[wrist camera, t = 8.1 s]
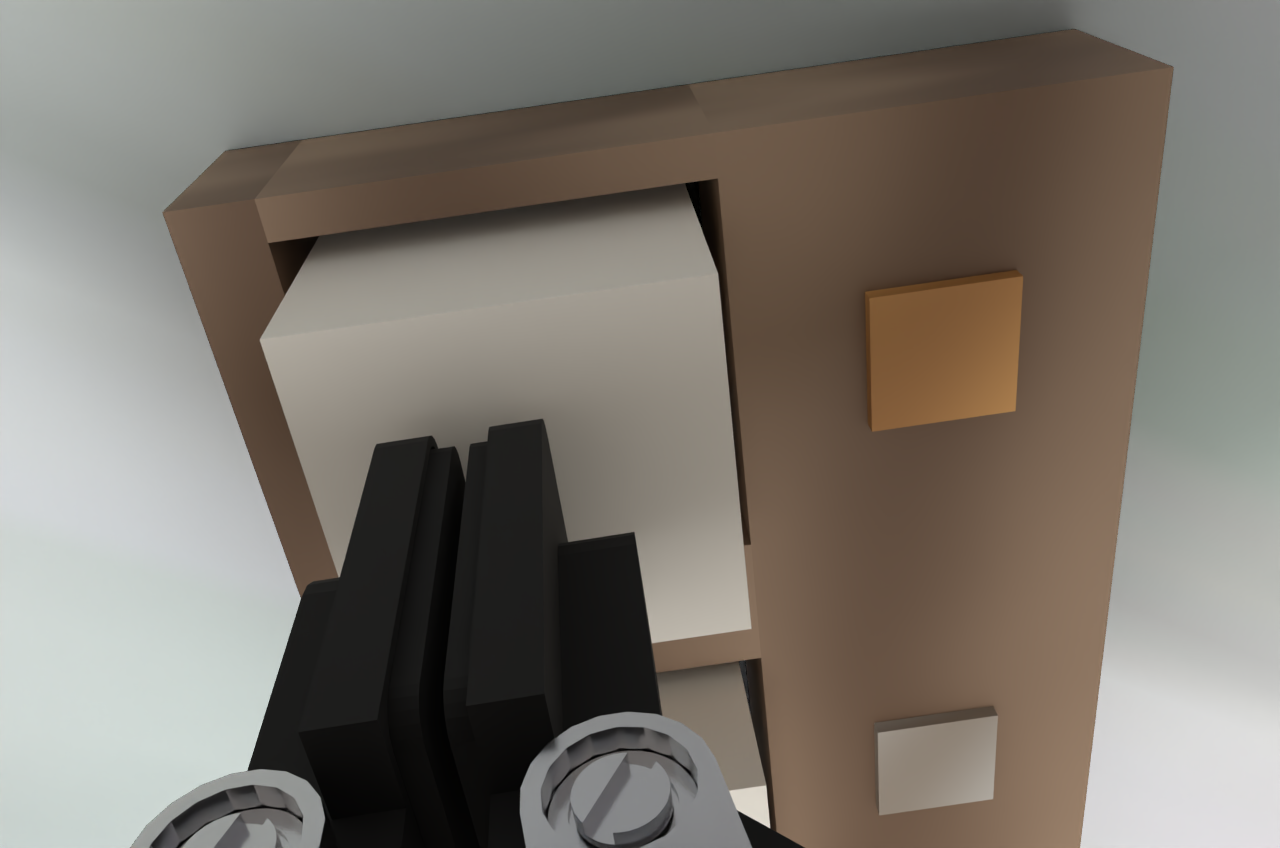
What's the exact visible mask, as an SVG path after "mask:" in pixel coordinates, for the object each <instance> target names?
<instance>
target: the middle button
mask: <svg viewBox="0 0 1280 848" xmlns="http://www.w3.org/2000/svg"><path fill="white" fill-rule="evenodd" d="M656 675H657V681H658V688H659V695H660V702H661V709H662V716H663V717H666V718H669V719H672V720H675V721H678V722H681V723H683V724H684V725H685V726H687V727H688V728H689V729H691V730H692V731H693V732H695V733H696V734H698V735H699V736H700V737H702V738H703V740H704V741H705V743H706V744H707V746H708V747H709V749H710V751H711V752H712V754H713V755H714V757H715V758H716V760H717V763H718V765H719V768H720V770H721V773H722V775H723V778H724V780H725V782H726V785H727V787H728V790H729V792H730V795H731V797H732V800H733V802H734V804H735V807H736V809H737V810H738V811H740V812H741V813H743V814H745V815H747V816H749V817H750V818H752V819H754V820H756V821H758V822H760V823H761V824H763V825H765V826H767V827H769V828H770V820H769V809H768V799H767V788H766V782H765V778H764V773H763V769H762V764H761V760H760V755H759V751H758V746H757V742H756V737H755V733H754V728H753V724H752V719H751V715H750V710H749V706H748V701H747V697H746V692H745V688H744V683H743V679H742V674H741V670H740V665H739V661H735V662H728V663H722V664H715V665H708V666H701V667H694V668H687V669H680V670H673V671H666V672H659V673H656Z"/></svg>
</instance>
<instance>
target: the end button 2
mask: <svg viewBox="0 0 1280 848" xmlns="http://www.w3.org/2000/svg"><path fill="white" fill-rule="evenodd" d="M260 343H261V346H262V349H263V352H264V355H265V358H266V361H267V364H268V367H269V370H270V373H271V376H272V379H273V382H274V385H275V388H276V391H277V394H278V397H279V400H280V403H281V406H282V409H283V412H284V415H285V418H286V421H287V424H288V427H289V430H290V433H291V436H292V439H293V442H294V445H295V448H296V451H297V454H298V457H299V460H300V463H301V466H302V469H303V472H304V475H305V478H306V481H307V484H308V487H309V490H310V493H311V496H312V499H313V502H314V505H315V508H316V511H317V514H318V517H319V520H320V523H321V526H322V529H323V532H324V535H325V538H326V541H327V544H328V547H329V550H330V553H331V556H332V559H333V562H334V565H335V568H336V571H337V574H338V577H340V574H341V571H342V567H343V563H344V559H345V556H346V552H347V548H348V545H349V541H350V537H351V533H352V530H353V526H354V522H355V519H356V515H357V511H358V507H359V504H360V500H361V496H362V492H363V489H364V485H365V481H366V478H367V474H368V470H369V466H370V463H371V459H372V455H373V452H374V448H375V446H376V444H379V443H385V442H392V441H399V440H405V439H412V438H418V437H425V436H431V435H432V436H433V438H434V439H435V441H436V443H437V446H438V449H439V448H446V447H452V446H455V448H456V449H457V451H458V454H459V458H460V461H461V465H462V469H463V474H464V478H465V482H466V474H467V465H468V456H469V447H470V444H472V443H479V442H485V441H487V440H488V430H489V427H491V426H497V425H504V424H510V423H517V422H523V421H530V420H537V419H543V420H544V423H545V427H546V431H547V435H548V440H549V445H550V451H551V456H552V461H553V466H554V471H555V476H556V482H557V487H558V492H559V497H560V502H561V507H562V513H563V518H564V523H565V528H566V533H567V539H568V542H572V541H578V540H585V539H591V538H598V537H604V536H611V535H617V534H624V533H630V532H635V538H636V544H637V550H638V557H639V563H640V569H641V576H642V582H643V589H644V595H645V602H646V608H647V615H648V621H649V628H650V634H651V641H652V643H657V642H664V641H671V640H678V639H685V638H692V637H699V636H706V635H713V634H720V633H727V632H734V631H740V630H747V629H751V618H750V607H749V597H748V586H747V575H746V565H745V554H744V544H743V533H742V522H741V512H740V501H739V490H738V480H737V469H736V459H735V448H734V437H733V427H732V416H731V405H730V395H729V384H728V373H727V363H726V352H725V342H724V331H723V320H722V310H721V299H720V288H719V278H718V272H717V269H716V267H715V264H714V261H713V259H712V256H711V253H710V250H709V248H708V245H707V242H706V240H705V237H704V234H703V232H702V229H701V226H700V223H699V221H698V218H697V215H696V213H695V210H694V207H693V205H692V202H691V199H690V196H689V194H688V191H687V188H686V186H685V183H682V184H675V185H668V186H661V187H654V188H647V189H640V190H633V191H626V192H619V193H612V194H606V195H599V196H592V197H585V198H578V199H571V200H564V201H557V202H550V203H543V204H536V205H529V206H522V207H515V208H508V209H501V210H494V211H487V212H480V213H473V214H467V215H460V216H453V217H446V218H439V219H432V220H425V221H418V222H411V223H404V224H397V225H390V226H383V227H376V228H369V229H362V230H355V231H348V232H341V233H334V234H328V235H321V236H319V237H318V239H317V241H316V243H315V244H314V246H313V248H312V250H311V251H310V253H309V255H308V257H307V258H306V260H305V262H304V263H303V265H302V267H301V269H300V270H299V272H298V274H297V276H296V277H295V279H294V281H293V283H292V284H291V286H290V288H289V290H288V291H287V293H286V295H285V296H284V298H283V300H282V302H281V303H280V305H279V307H278V309H277V310H276V312H275V314H274V316H273V317H272V319H271V321H270V323H269V324H268V326H267V328H266V330H265V331H264V333H263V335H262V336H261V338H260Z"/></svg>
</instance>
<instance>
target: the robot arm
mask: <svg viewBox="0 0 1280 848" xmlns="http://www.w3.org/2000/svg"><path fill="white" fill-rule="evenodd" d="M130 848H805V847H803V846H801V845H799V844H798V843H796V842H794V841H792V840H790V839H789V838H787V837H785V836H783V835H781V834H779V833H778V832H776V831H774V830H772V829H770V828H769V827H767V826H765V825H763V824H761V823H760V822H758V821H756V820H754V819H752V818H750V817H749V816H747V815H745V814H743V813H741V812H740V811H738V810H737V809H736V807H735V804H734V802H733V800H732V797H731V795H730V792H729V790H728V787H727V785H726V782H725V780H724V778H723V775H722V773H721V770H720V768H719V765H718V763H717V760H716V758H715V757H714V755H713V754H712V752H711V751H710V749H709V747H708V746H707V744H706V743H705V741H704V740H703V738H702V737H700V736H699V735H698V734H696V733H695V732H693V731H692V730H691V729H689V728H688V727H687V726H685V725H684V724H683V723H681V722H678V721H675V720H672V719H669V718H666V717H663V716H662V709H661V702H660V695H659V688H658V681H657V675H656V668H655V661H654V654H653V648H652V641H651V634H650V628H649V621H648V615H647V608H646V602H645V595H644V589H643V582H642V576H641V569H640V563H639V557H638V550H637V544H636V538H635V532H630V533H624V534H617V535H611V536H604V537H598V538H591V539H585V540H578V541H572V542H568V539H567V533H566V528H565V523H564V518H563V513H562V507H561V502H560V497H559V492H558V487H557V482H556V476H555V471H554V466H553V461H552V456H551V451H550V445H549V440H548V435H547V431H546V427H545V423H544V420H543V419H537V420H530V421H523V422H517V423H510V424H504V425H497V426H491V427H489V430H488V440H487V441H485V442H479V443H472V444H470V447H469V456H468V465H467V474H466V482H465V478H464V474H463V469H462V465H461V461H460V458H459V454H458V451H457V449H456V448H455V446H452V447H446V448H439V449H438V446H437V443H436V441H435V439H434V438H433V436H432V435H431V436H425V437H418V438H412V439H405V440H399V441H392V442H385V443H379V444H376V446H375V448H374V452H373V455H372V459H371V463H370V466H369V470H368V474H367V478H366V481H365V485H364V489H363V492H362V496H361V500H360V504H359V507H358V511H357V515H356V519H355V522H354V526H353V530H352V533H351V537H350V541H349V545H348V548H347V552H346V556H345V559H344V563H343V567H342V571H341V574H340V577H338V578H332V579H325V580H319V581H313V582H311V583H310V584H308V585H307V586H306V589H305V591H304V593H303V595H302V598H301V601H300V604H299V607H298V611H297V614H296V617H295V620H294V623H293V627H292V630H291V633H290V636H289V639H288V643H287V646H286V649H285V652H284V655H283V659H282V662H281V665H280V668H279V671H278V675H277V678H276V681H275V684H274V687H273V691H272V694H271V697H270V700H269V703H268V707H267V710H266V713H265V716H264V719H263V723H262V726H261V729H260V732H259V735H258V739H257V742H256V745H255V748H254V751H253V755H252V758H251V761H250V764H249V767H248V771H245V772H239V773H233V774H229V775H227V776H224V777H221V778H219V779H216V780H214V781H211V782H208V783H206V784H203V785H201V786H199V787H197V788H196V789H194V790H192V791H191V792H189V793H187V794H186V795H184V796H182V797H181V798H179V799H177V800H176V801H174V802H172V803H171V804H170V805H169V806H168V807H167V808H165V809H164V810H163V811H162V812H161V813H160V814H159V815H158V816H156V817H155V818H154V819H153V820H152V821H151V822H150V823H149V824H147V825H146V827H145V828H144V829H143V831H142V832H141V833H140V835H139V836H138V837H137V839H136V840H135V841H134V843H133V844H132V846H131V847H130Z"/></svg>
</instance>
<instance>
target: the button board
mask: <svg viewBox="0 0 1280 848" xmlns="http://www.w3.org/2000/svg"><path fill="white" fill-rule="evenodd" d="M1173 68H1174V67H1173V66H1170V65H1167V64H1165V63H1162V62H1160V61H1157V60H1154V59H1152V58H1149V57H1146V56H1144V55H1141V54H1139V53H1136V52H1133V51H1131V50H1128V49H1126V48H1123V47H1120V46H1118V45H1115V44H1113V43H1110V42H1107V41H1105V40H1102V39H1100V38H1097V37H1094V36H1092V35H1089V34H1087V33H1084V32H1081V31H1079V30H1076V29H1071V30H1064V31H1057V32H1050V33H1043V34H1036V35H1029V36H1022V37H1015V38H1008V39H1001V40H994V41H987V42H980V43H973V44H966V45H959V46H952V47H945V48H938V49H931V50H925V51H918V52H911V53H904V54H897V55H890V56H883V57H876V58H869V59H862V60H855V61H848V62H841V63H834V64H827V65H820V66H813V67H806V68H799V69H792V70H785V71H778V72H772V73H765V74H758V75H751V76H744V77H737V78H730V79H723V80H716V81H709V82H702V83H695V84H688V85H681V86H674V87H667V88H660V89H653V90H646V91H639V92H632V93H626V94H619V95H612V96H605V97H598V98H591V99H584V100H577V101H570V102H563V103H556V104H549V105H542V106H535V107H528V108H521V109H514V110H507V111H500V112H493V113H486V114H480V115H473V116H466V117H459V118H452V119H445V120H438V121H431V122H424V123H417V124H410V125H403V126H396V127H389V128H382V129H375V130H368V131H361V132H354V133H347V134H340V135H333V136H327V137H320V138H313V139H306V140H299V141H292V142H285V143H278V144H271V145H264V146H257V147H250V148H243V149H236V150H229V151H225V152H224V153H222V154H221V155H220V156H219V157H218V158H217V159H216V160H215V161H214V162H213V163H212V164H211V165H210V166H209V167H208V168H207V169H206V170H205V171H204V172H203V173H202V174H201V175H200V176H199V177H198V178H197V179H196V180H195V181H194V182H193V183H192V184H191V185H190V186H189V187H188V188H187V189H186V190H185V191H184V192H183V193H182V194H181V195H180V196H179V197H178V198H177V199H176V200H175V201H174V202H172V203H171V204H170V205H169V206H168V207H167V208H166V209H165V210H164V211H163V212H162V213H163V215H164V218H165V221H166V224H167V226H168V229H169V232H170V235H171V238H172V240H173V243H174V246H175V249H176V252H177V254H178V257H179V260H180V263H181V265H182V268H183V271H184V274H185V277H186V279H187V282H188V285H189V288H190V290H191V293H192V296H193V299H194V302H195V304H196V307H197V310H198V313H199V316H200V318H201V321H202V324H203V327H204V329H205V332H206V335H207V338H208V341H209V343H210V346H211V349H212V352H213V354H214V357H215V360H216V363H217V366H218V368H219V371H220V374H221V377H222V380H223V382H224V385H225V388H226V391H227V393H228V396H229V399H230V402H231V405H232V407H233V410H234V413H235V416H236V418H237V421H238V424H239V427H240V430H241V432H242V435H243V438H244V441H245V444H246V446H247V449H248V452H249V455H250V457H251V460H252V463H253V466H254V469H255V471H256V474H257V477H258V480H259V482H260V485H261V488H262V491H263V494H264V496H265V499H266V502H267V505H268V508H269V510H270V513H271V516H272V519H273V521H274V524H275V527H276V530H277V533H278V535H279V538H280V541H281V544H282V546H283V549H284V552H285V555H286V558H287V560H288V563H289V566H290V569H291V572H292V574H293V577H294V580H295V583H296V585H297V588H298V591H299V594H300V597H301V598H302V595H303V593H304V591H305V589H306V586H307V585H308V584H310V583H311V582H313V581H319V580H325V579H332V578H338V574H337V571H336V568H335V565H334V562H333V559H332V556H331V553H330V550H329V547H328V544H327V541H326V538H325V535H324V532H323V529H322V526H321V523H320V520H319V517H318V514H317V511H316V508H315V505H314V502H313V499H312V496H311V493H310V490H309V487H308V484H307V481H306V478H305V475H304V472H303V469H302V466H301V463H300V460H299V457H298V454H297V451H296V448H295V445H294V442H293V439H292V436H291V433H290V430H289V427H288V424H287V421H286V418H285V415H284V412H283V409H282V406H281V403H280V400H279V397H278V394H277V391H276V388H275V385H274V382H273V379H272V376H271V373H270V370H269V367H268V364H267V361H266V358H265V355H264V352H263V349H262V346H261V343H260V338H261V336H262V335H263V333H264V331H265V330H266V328H267V326H268V324H269V323H270V321H271V319H272V317H273V316H274V314H275V312H276V310H277V309H278V307H279V305H280V303H281V302H282V300H283V298H284V296H285V295H286V293H287V291H288V290H289V288H290V286H291V284H292V283H293V281H294V279H295V277H296V276H297V274H298V272H299V270H300V269H301V267H302V265H303V263H304V262H305V260H306V258H307V257H308V255H309V253H310V251H311V250H312V248H313V246H314V244H315V243H316V241H317V239H318V237H319V236H321V235H328V234H334V233H341V232H348V231H355V230H362V229H369V228H376V227H383V226H390V225H397V224H404V223H411V222H418V221H425V220H432V219H439V218H446V217H453V216H460V215H467V214H473V213H480V212H487V211H494V210H501V209H508V208H515V207H522V206H529V205H536V204H543V203H550V202H557V201H564V200H571V199H578V198H585V197H592V196H599V195H606V194H612V193H619V192H626V191H633V190H640V189H647V188H654V187H661V186H668V185H675V184H682V183H689V182H696V181H698V185H699V195H700V205H701V215H702V225H703V234H704V237H705V240H706V242H707V245H708V248H709V250H710V253H711V256H712V259H713V261H714V264H715V267H716V269H717V272H718V278H719V288H720V299H721V310H722V320H723V331H724V342H725V352H726V363H727V373H728V384H729V395H730V405H731V416H732V427H733V437H734V448H735V459H736V469H737V480H738V490H739V501H740V512H741V522H742V533H743V544H744V554H745V565H746V575H747V586H748V597H749V607H750V618H751V629H747V630H740V631H734V632H727V633H720V634H713V635H706V636H699V637H692V638H685V639H678V640H671V641H664V642H657V643H652V648H653V654H654V661H655V668H656V673H659V672H666V671H673V670H680V669H687V668H694V667H701V666H708V665H715V664H722V663H728V662H735V661H742V660H746V668H747V678H748V688H749V698H750V708H751V718H752V724H753V728H754V733H755V737H756V742H757V746H758V751H759V755H760V760H761V764H762V769H763V773H764V778H765V782H766V788H767V799H768V809H769V820H770V829H772V830H774V831H776V832H778V833H779V834H781V835H783V836H785V837H787V838H789V839H790V840H792V841H794V842H796V843H798V844H799V845H801V846H803V847H805V848H1080V842H1081V834H1082V826H1083V817H1084V809H1085V801H1086V792H1087V784H1088V776H1089V767H1090V759H1091V751H1092V742H1093V734H1094V726H1095V717H1096V709H1097V701H1098V692H1099V684H1100V676H1101V667H1102V659H1103V651H1104V642H1105V634H1106V626H1107V617H1108V609H1109V601H1110V592H1111V584H1112V576H1113V567H1114V559H1115V551H1116V543H1117V534H1118V526H1119V518H1120V509H1121V501H1122V493H1123V484H1124V476H1125V468H1126V459H1127V451H1128V443H1129V434H1130V426H1131V418H1132V409H1133V401H1134V393H1135V384H1136V376H1137V368H1138V359H1139V351H1140V343H1141V334H1142V326H1143V318H1144V309H1145V301H1146V293H1147V284H1148V276H1149V268H1150V259H1151V251H1152V243H1153V234H1154V226H1155V218H1156V209H1157V201H1158V193H1159V184H1160V176H1161V168H1162V159H1163V151H1164V143H1165V134H1166V126H1167V118H1168V109H1169V101H1170V93H1171V84H1172V76H1173Z"/></svg>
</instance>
